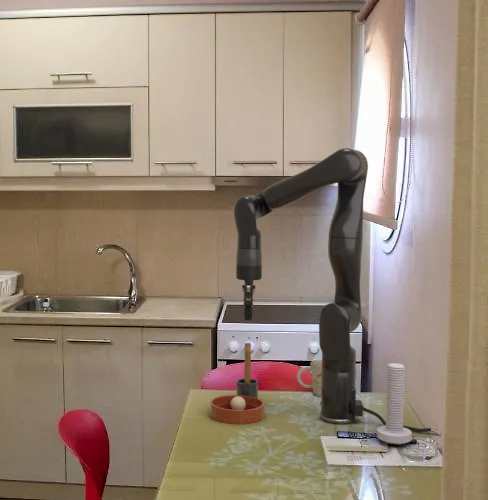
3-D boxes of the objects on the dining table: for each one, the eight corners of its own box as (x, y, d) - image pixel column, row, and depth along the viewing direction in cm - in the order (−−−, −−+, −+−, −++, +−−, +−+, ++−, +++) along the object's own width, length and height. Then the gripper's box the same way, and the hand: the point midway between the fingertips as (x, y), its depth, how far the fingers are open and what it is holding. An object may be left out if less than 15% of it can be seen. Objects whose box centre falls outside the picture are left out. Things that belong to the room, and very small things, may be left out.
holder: (258, 401, 211) (258, 378, 210) (257, 407, 204) (257, 384, 204) (237, 400, 212) (237, 378, 211) (235, 406, 205) (235, 383, 205)
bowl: (265, 410, 202) (265, 396, 201) (262, 427, 187) (263, 412, 186) (213, 407, 204) (213, 393, 204) (207, 424, 189) (207, 409, 189)
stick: (250, 401, 209) (251, 342, 207) (250, 403, 207) (250, 344, 206) (244, 401, 209) (245, 342, 208) (243, 403, 207) (244, 343, 206)
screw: (400, 435, 181) (402, 360, 179) (418, 447, 172) (420, 368, 171) (370, 438, 179) (372, 361, 177) (387, 449, 170) (389, 369, 169)
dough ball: (246, 409, 201) (246, 394, 200) (245, 414, 196) (245, 399, 196) (231, 408, 201) (231, 394, 201) (229, 413, 197) (229, 398, 197)
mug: (336, 398, 214) (337, 366, 214) (295, 396, 217) (296, 364, 216) (336, 391, 222) (337, 360, 222) (297, 389, 225) (297, 358, 224)
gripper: (261, 265, 197) (261, 322, 199) (261, 261, 212) (260, 313, 213) (235, 265, 198) (235, 321, 199) (237, 261, 212) (236, 313, 213)
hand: (248, 317), depth 206 cm, fingers open, 8 cm apart
